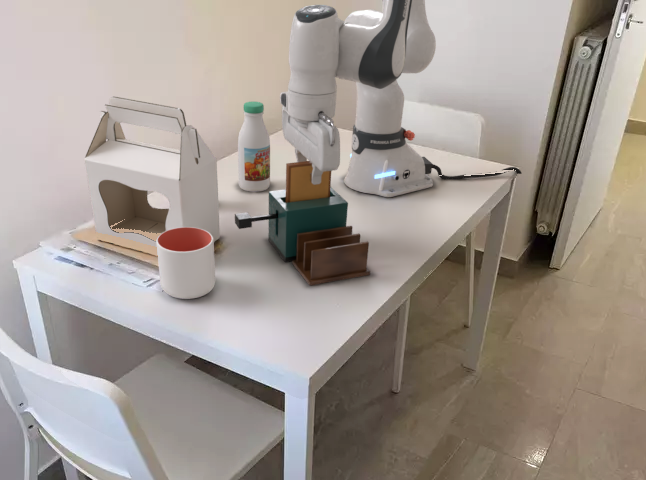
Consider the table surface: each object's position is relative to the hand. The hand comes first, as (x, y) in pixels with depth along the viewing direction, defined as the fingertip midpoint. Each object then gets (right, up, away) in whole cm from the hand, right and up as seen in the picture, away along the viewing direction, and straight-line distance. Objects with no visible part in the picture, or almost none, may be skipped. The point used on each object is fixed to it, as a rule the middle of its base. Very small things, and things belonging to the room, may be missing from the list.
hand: (308, 177), depth 129 cm
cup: (-22, -22, -6) cm, 32 cm away
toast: (0, -6, +4) cm, 7 cm away
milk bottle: (-13, +6, +34) cm, 37 cm away
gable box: (-31, -11, +9) cm, 34 cm away
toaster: (-1, -12, +9) cm, 15 cm away
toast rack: (+4, -18, +1) cm, 18 cm away
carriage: (-5, -8, +3) cm, 10 cm away
